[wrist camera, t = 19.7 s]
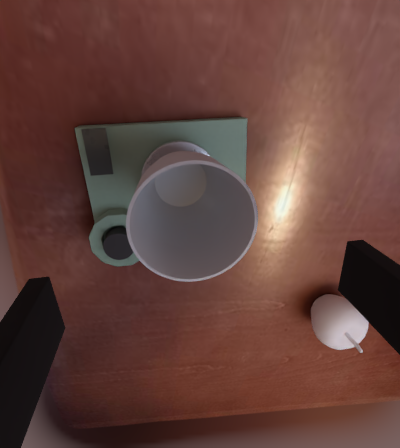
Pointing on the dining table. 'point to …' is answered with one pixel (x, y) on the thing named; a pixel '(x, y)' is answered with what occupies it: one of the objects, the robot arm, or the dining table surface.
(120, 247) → the button
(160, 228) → the cup
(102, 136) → the pan
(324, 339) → the plain white apple
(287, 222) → the dining table surface
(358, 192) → the dining table surface
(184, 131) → the scale
